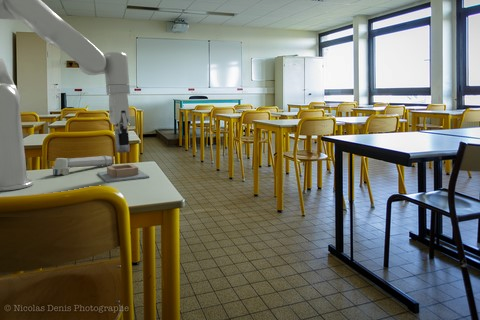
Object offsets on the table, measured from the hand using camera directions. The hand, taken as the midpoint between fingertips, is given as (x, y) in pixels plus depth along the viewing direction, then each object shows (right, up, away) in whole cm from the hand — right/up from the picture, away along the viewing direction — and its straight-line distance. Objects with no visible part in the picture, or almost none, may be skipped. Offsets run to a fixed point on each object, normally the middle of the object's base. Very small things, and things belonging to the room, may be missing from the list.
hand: (122, 143), depth 136 cm
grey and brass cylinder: (0, -3, +1) cm, 3 cm away
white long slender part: (-18, -10, +13) cm, 24 cm away
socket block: (0, -11, +2) cm, 11 cm away
